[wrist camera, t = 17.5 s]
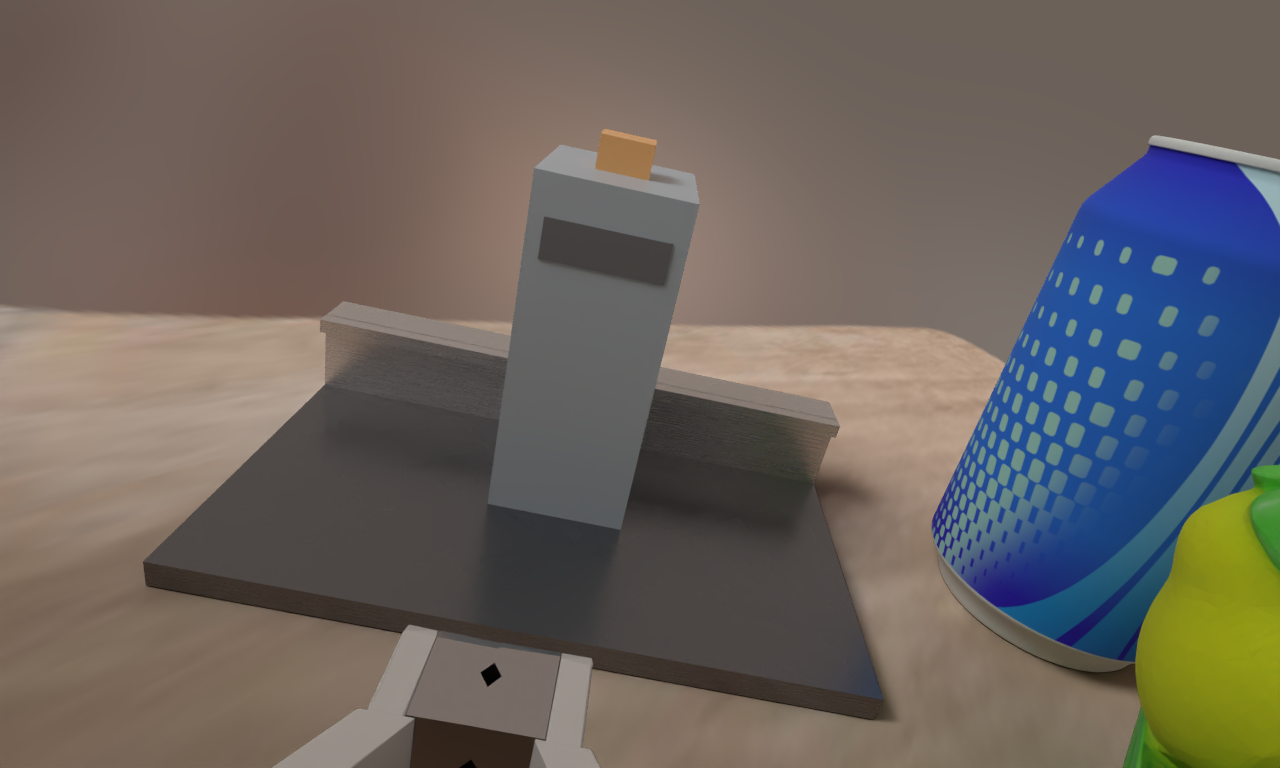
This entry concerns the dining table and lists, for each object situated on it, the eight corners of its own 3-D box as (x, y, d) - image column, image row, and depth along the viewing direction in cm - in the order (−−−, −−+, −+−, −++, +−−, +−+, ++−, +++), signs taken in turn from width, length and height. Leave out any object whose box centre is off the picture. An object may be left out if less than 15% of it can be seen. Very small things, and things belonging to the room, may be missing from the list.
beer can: (887, 513, 30) (1061, 115, 23) (1069, 542, 31) (1287, 169, 24) (979, 675, 22) (1278, 156, 16) (1216, 706, 23) (1595, 231, 16)
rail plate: (146, 585, 19) (131, 465, 17) (357, 368, 31) (360, 288, 30) (873, 720, 20) (924, 618, 18) (795, 457, 32) (821, 384, 31)
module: (487, 504, 24) (539, 129, 18) (517, 429, 28) (566, 112, 23) (620, 530, 24) (708, 166, 19) (628, 452, 28) (701, 143, 23)
